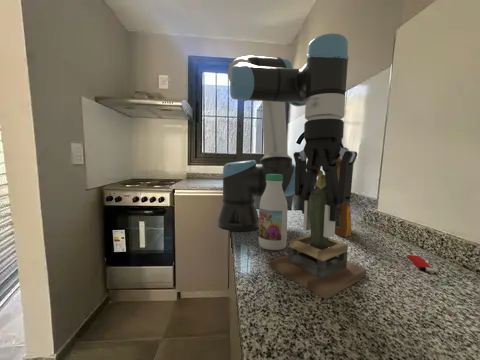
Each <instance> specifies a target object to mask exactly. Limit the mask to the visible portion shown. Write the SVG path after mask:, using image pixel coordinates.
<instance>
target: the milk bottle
mask: <svg viewBox="0 0 480 360" xmlns="http://www.w3.org/2000/svg"><path fill="white" fill-rule="evenodd" d="M282 180H283V175H282V174H266V183H267V184H266V189H265V191H264V193H263V196H261V198H260V202H259V211H258V212H259V213H258V217H259V227H258V245H259V247H260V248H262V249H265V250H266V251H267V250H268V251H282V250H284V249H285V248H286V246H287V240H288V213H289V212H288V201H287V198H286V197H287V196H285V195H284V192H283V189H282V182H283V181H282Z"/></svg>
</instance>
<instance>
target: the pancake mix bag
mask: <svg viewBox="0 0 480 360" xmlns="http://www.w3.org/2000/svg"><path fill="white" fill-rule="evenodd" d="M344 149H346V150H349V151H350V149H349V148H347V147H346V146H344ZM340 157H341V155H340V156H339V158H338V159H337V166H338V169H337V175H338V182H339V173H340V163H341V159H340ZM351 211H352V210H351V201H350V202H348V203H343V204H341V205H340V211H339V220H338V221H335V236H338V237H341V238H347V237H350V236H351V233H352V228H353V227H352V226H353V224H352V212H351Z"/></svg>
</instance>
